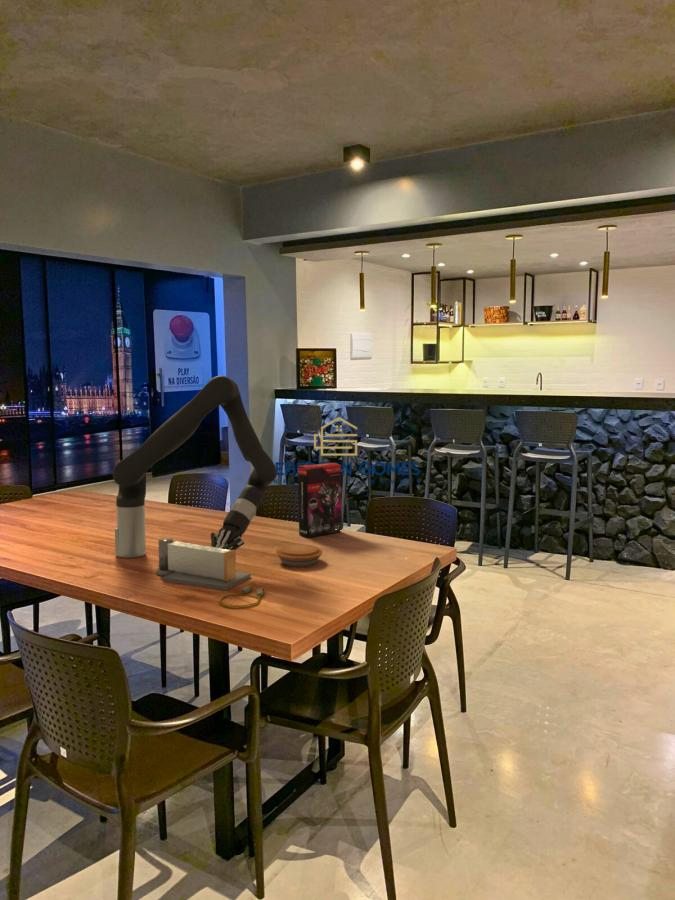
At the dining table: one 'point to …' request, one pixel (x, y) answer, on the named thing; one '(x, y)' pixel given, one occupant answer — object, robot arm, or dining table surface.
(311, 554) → the pie
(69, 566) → the dining table surface
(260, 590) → the extension cord
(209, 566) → the grey rectangular block
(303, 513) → the graphics card box
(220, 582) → the panel
